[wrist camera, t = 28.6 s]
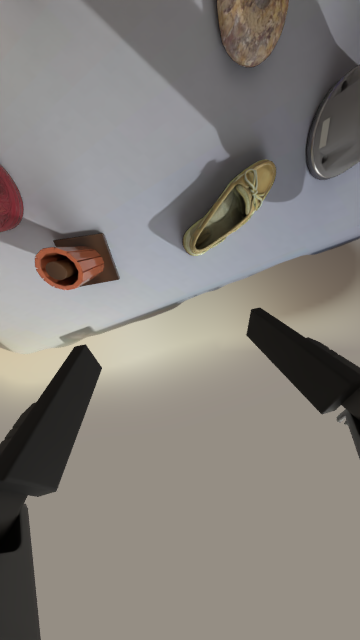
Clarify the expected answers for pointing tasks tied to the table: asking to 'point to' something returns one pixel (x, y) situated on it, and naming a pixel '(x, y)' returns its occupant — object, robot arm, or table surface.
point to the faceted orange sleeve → (81, 256)
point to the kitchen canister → (9, 202)
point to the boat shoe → (231, 208)
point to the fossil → (251, 28)
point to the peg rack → (69, 268)
